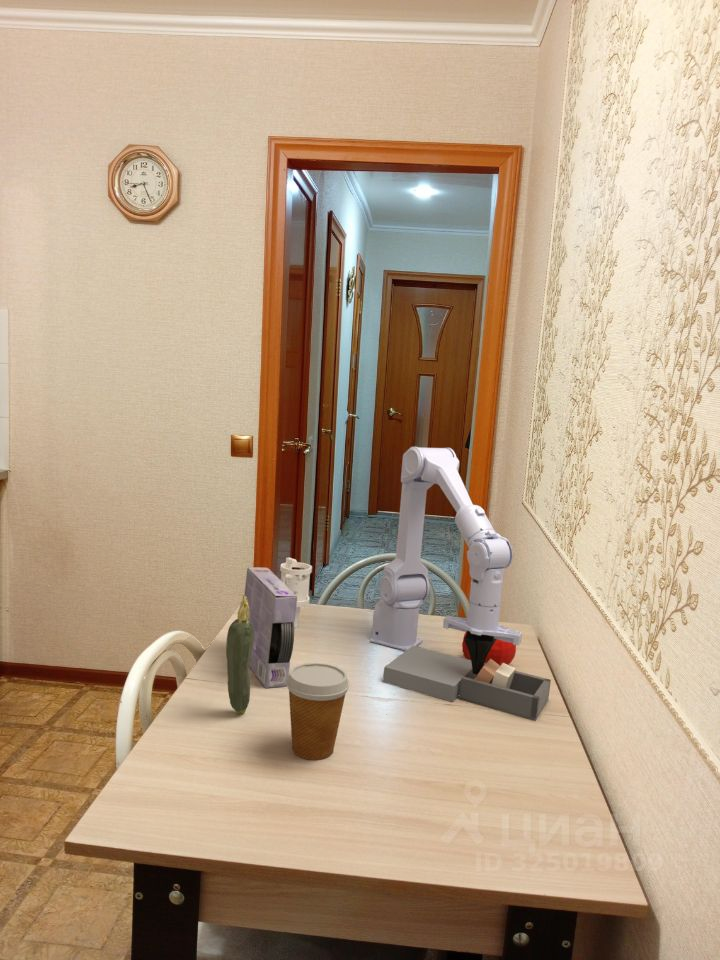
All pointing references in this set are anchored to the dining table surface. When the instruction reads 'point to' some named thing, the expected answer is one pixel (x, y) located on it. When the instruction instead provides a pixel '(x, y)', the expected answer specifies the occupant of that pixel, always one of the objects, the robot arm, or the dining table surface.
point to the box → (509, 694)
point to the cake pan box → (270, 625)
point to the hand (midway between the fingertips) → (477, 672)
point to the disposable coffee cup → (315, 708)
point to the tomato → (496, 652)
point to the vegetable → (239, 658)
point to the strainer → (297, 583)
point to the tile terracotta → (487, 672)
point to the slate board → (428, 672)
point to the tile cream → (504, 676)
